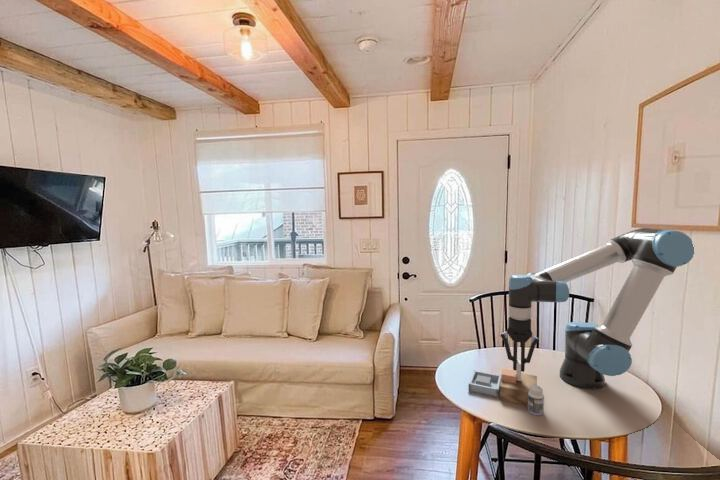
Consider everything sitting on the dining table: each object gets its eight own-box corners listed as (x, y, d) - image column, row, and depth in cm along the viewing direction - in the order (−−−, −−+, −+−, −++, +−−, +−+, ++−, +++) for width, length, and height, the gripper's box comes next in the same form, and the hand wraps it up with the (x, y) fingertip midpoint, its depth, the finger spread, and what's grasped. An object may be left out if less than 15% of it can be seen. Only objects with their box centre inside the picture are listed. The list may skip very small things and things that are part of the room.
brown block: (536, 388, 128) (536, 375, 128) (536, 407, 116) (537, 393, 115) (502, 381, 134) (502, 369, 133) (499, 399, 121) (499, 386, 121)
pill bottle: (525, 407, 116) (525, 384, 115) (539, 407, 116) (540, 384, 115) (531, 415, 111) (531, 391, 111) (545, 415, 111) (546, 391, 110)
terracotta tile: (516, 377, 127) (516, 371, 127) (516, 383, 123) (516, 376, 122) (502, 374, 129) (502, 368, 129) (501, 380, 125) (501, 374, 125)
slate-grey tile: (477, 374, 134) (477, 380, 134) (475, 380, 129) (475, 386, 129) (490, 377, 131) (490, 383, 132) (489, 383, 127) (489, 389, 127)
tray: (501, 382, 133) (501, 375, 133) (498, 397, 122) (498, 389, 122) (473, 377, 138) (473, 370, 138) (468, 391, 127) (468, 383, 127)
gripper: (539, 316, 123) (538, 378, 125) (501, 312, 129) (500, 371, 131) (539, 322, 116) (538, 387, 118) (499, 317, 122) (498, 379, 124)
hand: (518, 378), depth 124 cm, fingers closed
